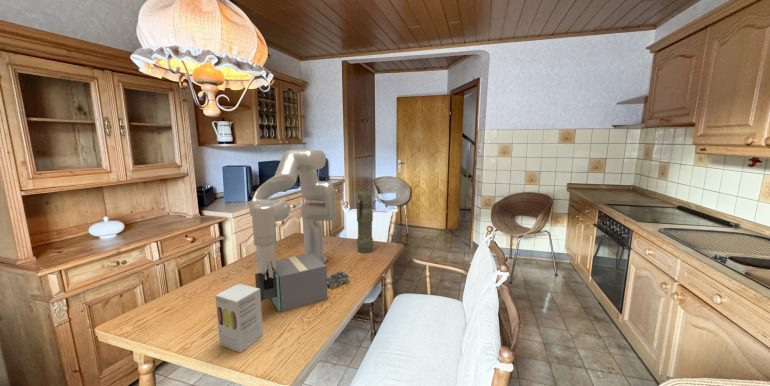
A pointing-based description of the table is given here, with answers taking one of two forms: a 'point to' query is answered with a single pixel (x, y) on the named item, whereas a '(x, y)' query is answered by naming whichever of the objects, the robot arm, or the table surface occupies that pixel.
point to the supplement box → (239, 317)
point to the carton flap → (269, 293)
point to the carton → (301, 281)
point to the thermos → (364, 221)
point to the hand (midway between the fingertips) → (268, 287)
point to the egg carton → (337, 279)
